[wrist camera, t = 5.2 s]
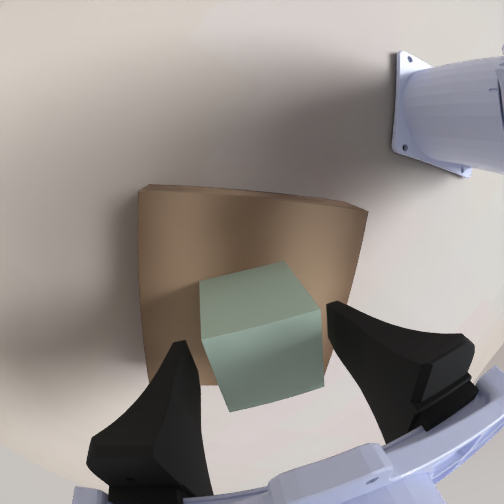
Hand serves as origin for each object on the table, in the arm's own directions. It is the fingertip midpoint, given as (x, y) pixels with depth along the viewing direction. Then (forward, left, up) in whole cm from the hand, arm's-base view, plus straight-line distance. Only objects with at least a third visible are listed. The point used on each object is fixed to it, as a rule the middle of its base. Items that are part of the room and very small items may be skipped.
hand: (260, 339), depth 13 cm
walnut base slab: (0, 0, -6) cm, 6 cm away
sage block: (0, 0, -3) cm, 3 cm away
